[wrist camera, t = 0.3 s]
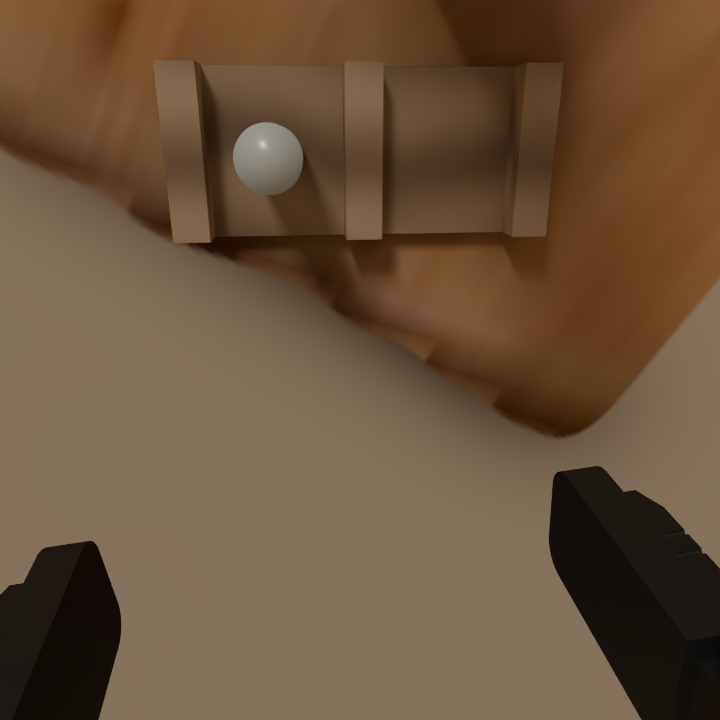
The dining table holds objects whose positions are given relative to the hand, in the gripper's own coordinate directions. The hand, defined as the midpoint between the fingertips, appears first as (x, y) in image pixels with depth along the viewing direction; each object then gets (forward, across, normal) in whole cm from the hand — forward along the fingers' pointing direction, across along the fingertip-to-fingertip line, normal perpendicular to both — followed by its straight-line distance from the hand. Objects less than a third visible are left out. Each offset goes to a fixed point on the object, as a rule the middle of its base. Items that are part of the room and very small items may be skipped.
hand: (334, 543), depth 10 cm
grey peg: (+27, 0, -4) cm, 27 cm away
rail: (+28, -4, -3) cm, 29 cm away
